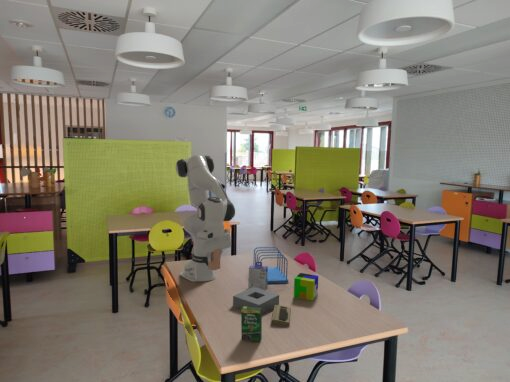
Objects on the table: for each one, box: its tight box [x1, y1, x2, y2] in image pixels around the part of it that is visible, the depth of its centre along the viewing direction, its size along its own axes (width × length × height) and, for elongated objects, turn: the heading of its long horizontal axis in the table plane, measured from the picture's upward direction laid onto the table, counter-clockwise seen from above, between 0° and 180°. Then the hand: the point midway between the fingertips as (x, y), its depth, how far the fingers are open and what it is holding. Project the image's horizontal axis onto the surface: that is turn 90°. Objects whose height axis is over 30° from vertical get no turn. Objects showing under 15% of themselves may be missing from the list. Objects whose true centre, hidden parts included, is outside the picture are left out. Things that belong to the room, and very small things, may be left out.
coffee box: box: [240, 306, 263, 343], centre depth 141 cm, size 8×3×13 cm, turn 76°
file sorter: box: [253, 246, 289, 284], centre depth 216 cm, size 25×17×15 cm
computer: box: [270, 304, 292, 327], centre depth 162 cm, size 16×8×3 cm, turn 173°
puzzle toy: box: [293, 272, 319, 301], centre depth 188 cm, size 10×10×10 cm
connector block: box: [208, 248, 221, 271], centre depth 171 cm, size 4×4×10 cm
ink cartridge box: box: [247, 261, 269, 291], centre depth 196 cm, size 10×6×14 cm, turn 78°
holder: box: [232, 287, 280, 315], centre depth 174 cm, size 16×16×5 cm
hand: (214, 260), depth 171 cm, fingers closed on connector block, 4 cm apart
